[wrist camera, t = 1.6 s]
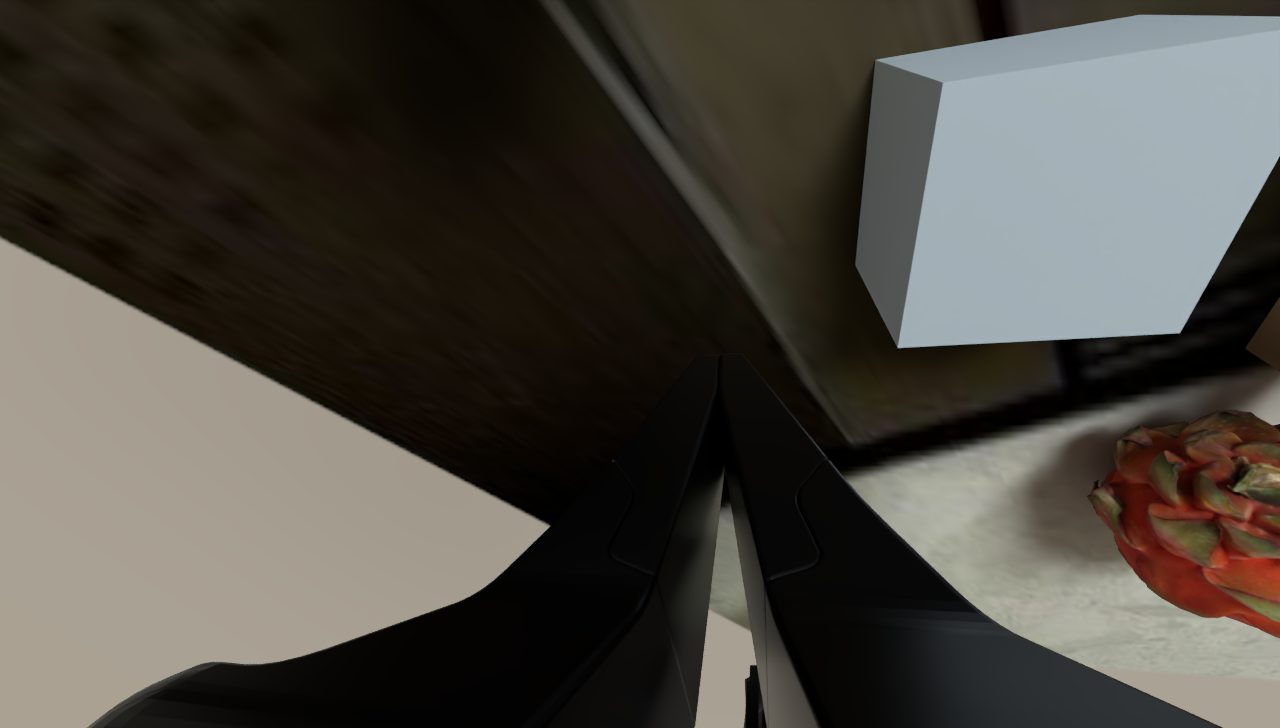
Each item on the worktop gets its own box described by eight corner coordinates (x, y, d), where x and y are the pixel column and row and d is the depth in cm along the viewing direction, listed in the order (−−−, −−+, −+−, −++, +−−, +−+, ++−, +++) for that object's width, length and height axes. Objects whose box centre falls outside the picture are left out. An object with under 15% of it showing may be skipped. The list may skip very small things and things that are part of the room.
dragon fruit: (1087, 349, 21) (1197, 447, 26) (999, 517, 21) (1123, 588, 26) (1446, 391, 14) (1518, 524, 18) (1305, 659, 14) (1411, 726, 18)
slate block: (1057, 245, 18) (1179, 332, 13) (854, 263, 19) (897, 348, 14) (1138, 14, 14) (1358, 17, 9) (874, 59, 15) (943, 82, 10)
